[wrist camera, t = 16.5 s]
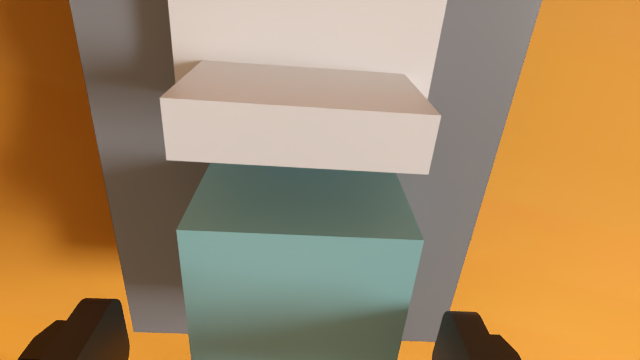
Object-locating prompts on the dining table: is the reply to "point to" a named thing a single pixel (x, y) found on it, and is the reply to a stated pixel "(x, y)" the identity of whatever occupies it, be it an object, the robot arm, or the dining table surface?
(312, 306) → the plug
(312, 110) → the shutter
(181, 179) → the socket
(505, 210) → the dining table surface
